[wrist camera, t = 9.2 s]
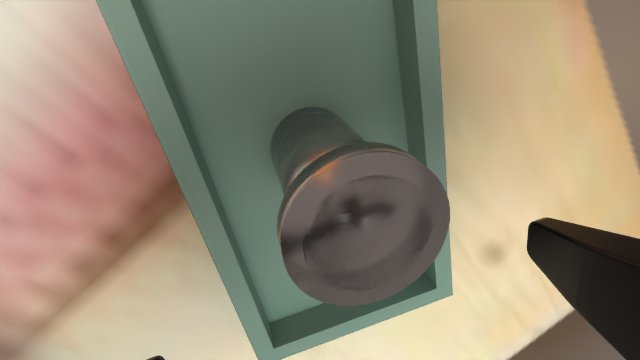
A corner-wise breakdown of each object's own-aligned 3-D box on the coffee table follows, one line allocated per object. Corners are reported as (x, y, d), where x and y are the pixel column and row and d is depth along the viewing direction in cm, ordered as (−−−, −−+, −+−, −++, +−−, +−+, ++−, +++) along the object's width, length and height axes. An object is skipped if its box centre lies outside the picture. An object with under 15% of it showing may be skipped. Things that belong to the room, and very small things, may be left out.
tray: (431, 269, 24) (452, 294, 22) (257, 332, 22) (261, 366, 20) (393, -158, 14) (426, -190, 12) (73, -96, 12) (41, -120, 10)
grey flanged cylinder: (368, 177, 19) (453, 274, 12) (274, 207, 18) (305, 327, 11) (352, 80, 17) (445, 130, 10) (243, 111, 16) (258, 187, 9)
